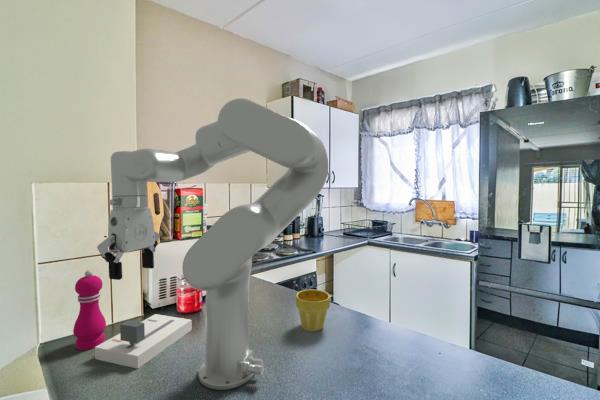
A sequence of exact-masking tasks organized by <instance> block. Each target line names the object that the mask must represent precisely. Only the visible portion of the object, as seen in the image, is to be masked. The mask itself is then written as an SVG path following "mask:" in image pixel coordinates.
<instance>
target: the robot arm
mask: <svg viewBox="0 0 600 400" xmlns="http://www.w3.org/2000/svg"><path fill="white" fill-rule="evenodd" d="M194 139H195V143H194V144H193V145H191V146H189V147H186V148H184V149H181V150H178V151H175V152H174V151H173V152H171V151H167V150H162V149H161V150H160V149H154V148H141V149H137V150H134V151H133V150H132V151H129V150H128V151H126V150H122V151H120V150H119V151H115V152H113V153H112V154H111V157H110V172H111V173H110V174H111V175H110V176H111V199H110V200H109V202H108V203H109V204H110V206H112V210H110V213H109V218H108V228H107V238H106V239H104V240H103V241H101V242H100V243H98V245H97V246H96V248H97V250H98V252H99V254H100V256H101V258H102V259H104V261H105V262H106V263H108V279H109V280H117V281H119V280H122V279H123V263H122V261H120V260H121V258H122V257H123V255H124V253H126V254H128V253H133V252H137V251H141V250H142V251H143V252H141V267H142V269H154V268H155V260H154V254H155V252H156V248H157V246H158V244H159V243H158V242H159V239H160V233H158V232H156V231H155V223H154V217H153V213H152V210H151V209H152V208H150V207H149V197H148V183H179V182H183V181H184V180H189V179H191V178H194V177H196V176H199V175H202V174H204V173H206V172H207V171H209V170H210V169H211V168H213V167H215V166H216V165H217V164H219V163H222V162H224V161H227V160H230V159H233V158H235V157H239V156H241V155H244V154H247V153H249V152H252V153H254V154H256V155H259V156H261V157H263V158H265V159H267V160H268V161H269V160H270V161H271V162H272V163H276V164H277V165H280V166H283V167H284V168H288V169H287V170H286V172H285V173H284V174H283V175H282V176H281V177H280V178H278V179H277V180H276V181H275V182H273V184H271V186H270V187H269V188H268V189H267V190H265V192H264V193H263V194H262V195H261V196H260V197H258V199H256V200H255V201H253V202H251V203H247V204H242V205H238V206H236V207H233V208H231V209H229V210H228V211H227V212H225V213H224V214H223V215H222V216H220V217H219V218H218V220H216V221H215V222H214V223H213V224H212V225H211V226H210V227H209V228H208V229H207V230H206V232H204V234H202V235H201V236H200V237H199V239H197V240H196V241H195V242H194V244H192V245H191V246H190V248H189V249H188V250H187V252H186V254H185V255H184V258H183V261H182V275H183V278H184V280H185V282H186V283H187V284H188V285H189V286H190V287H192V288H193V289H195V290H197V291H203V292H205V307H204V308H205V361H204V362H203V363H202V364H201V365H200V367H199V369H198V380H199V382H200V383H201V384H202V385H203V386H205V387H207V389H208V388H209V389H212V390H217V391H218V390H219V391H223V390H225V391H226V390H231V389H235V388H239V387H240V386H242V385H245V384H246V383H247V382H249V381H250V380H251V379H252V378H253V376H254V375H258V376H261V377H262V376H263V374H264V372H265V366H264V360H263V359H260V358H255V357H254V354H253V353H254V351H253V349H250V348H249V347H250V346H249V343H250V342H249V325H250V324H249V321H250V320H249V318H250V317H249V315H250V313H249V310H250V309H249V308H250V307H249V304H250V303H249V301H250V300H249V299H250V280H251V279H250V278H251V274H252V273H251V272H252V264H253V256H255V254H257V253H258V252H259V251H261V250H262V249H264V248H266V247H268V246H269V245H271V244H272V243H273V242H274V240H276V238H278V236H279V235H280V234H281V233H282V232H283V231H284V230H285V229H286V228H288V226H289V225H290V224H291V223H292V222H294V220H295V219H296V218H297V217H298V216H300V215H301V214H302V212H303V211H304V210H305V209H306V208H308V206H309V205H310V204H311V203H312V202H313V201H314V200H315V199H316V198H317V196H319V194H320V193H321V191H322V189H323V188H324V186H325V183H326V182H327V177H328V173H329V156H328V153H327V150H326V147H325V145H324V143H323V141H322V139H321V138H320V137H319V136H318V135H317V134H316V133H315V132H314V131H312V129H310V128H309V127H308V126H307V125H305V124H304V123H302V122H300V121H298V120H296V119H293V118H291V117H288V116H287V115H284V114H282V113H279V112H277V111H275V110H273V109H271V108H268V107H266V106H263V105H262V104H259V103H257V102H255V101H252V100H251V99H248V98H243V97H242V98H235V99H232V100H229V101H228V102H227V103H225V104H224V105H223V106H222V107H221V108H220V110H219V113H218V117H217V121H214V122H212V123H208V124H206V125H204V126H201V127H200V128H198V129H196V132H195V138H194Z"/></svg>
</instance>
